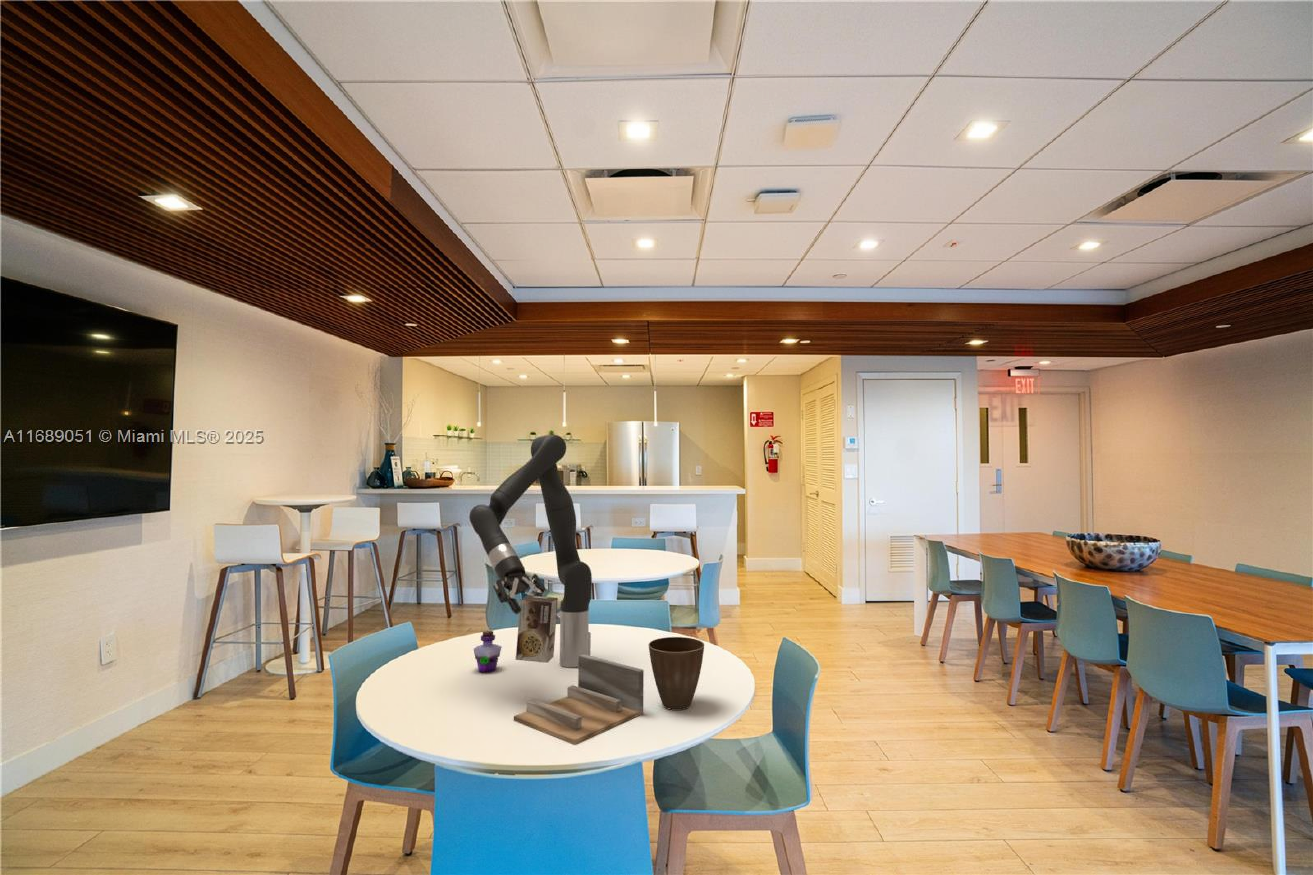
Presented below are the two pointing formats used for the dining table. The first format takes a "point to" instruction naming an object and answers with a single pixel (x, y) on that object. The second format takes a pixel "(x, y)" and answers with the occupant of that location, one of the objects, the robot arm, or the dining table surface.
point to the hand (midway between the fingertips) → (531, 609)
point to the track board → (588, 720)
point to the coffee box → (536, 629)
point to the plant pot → (676, 669)
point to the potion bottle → (487, 653)
